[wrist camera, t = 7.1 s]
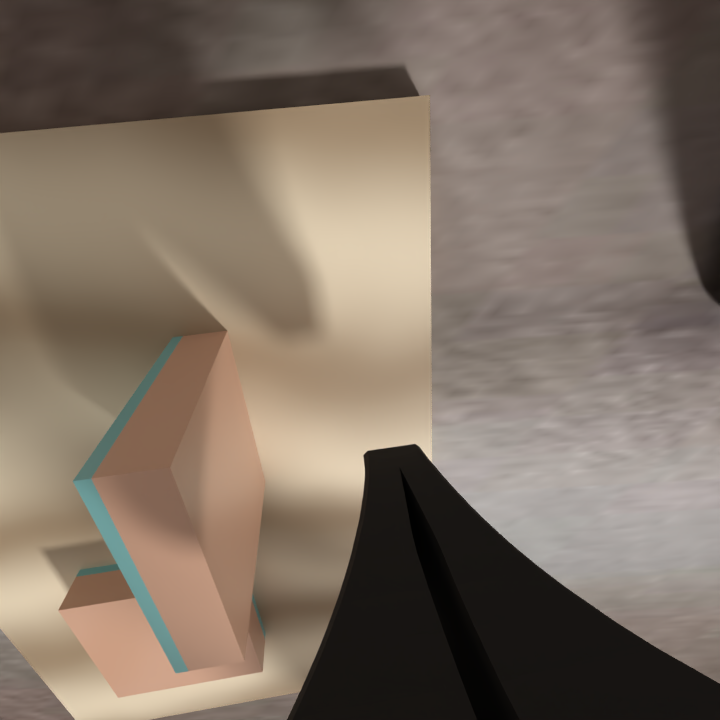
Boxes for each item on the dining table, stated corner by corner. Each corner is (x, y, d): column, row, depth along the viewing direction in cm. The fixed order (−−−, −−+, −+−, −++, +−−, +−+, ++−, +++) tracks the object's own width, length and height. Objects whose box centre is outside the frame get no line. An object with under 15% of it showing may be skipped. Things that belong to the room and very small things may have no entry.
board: (429, 651, 23) (433, 667, 22) (92, 712, 22) (84, 731, 21) (421, 98, 11) (429, 95, 10) (-330, 165, 10) (-379, 166, 9)
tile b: (265, 481, 15) (244, 661, 10) (221, 488, 15) (176, 673, 10) (227, 330, 12) (170, 467, 7) (172, 337, 12) (73, 481, 7)
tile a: (262, 671, 18) (118, 697, 17) (265, 633, 19) (132, 656, 19) (231, 582, 15) (58, 610, 15) (237, 544, 16) (79, 569, 16)
